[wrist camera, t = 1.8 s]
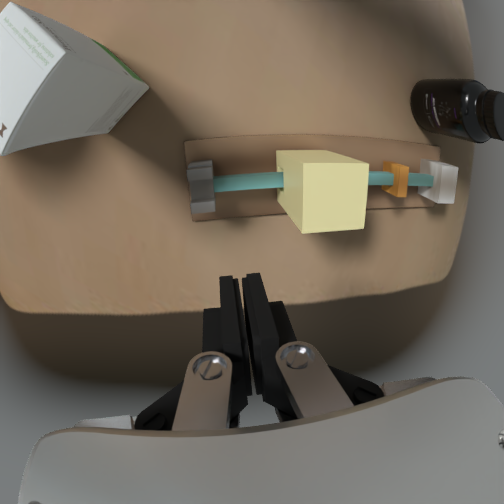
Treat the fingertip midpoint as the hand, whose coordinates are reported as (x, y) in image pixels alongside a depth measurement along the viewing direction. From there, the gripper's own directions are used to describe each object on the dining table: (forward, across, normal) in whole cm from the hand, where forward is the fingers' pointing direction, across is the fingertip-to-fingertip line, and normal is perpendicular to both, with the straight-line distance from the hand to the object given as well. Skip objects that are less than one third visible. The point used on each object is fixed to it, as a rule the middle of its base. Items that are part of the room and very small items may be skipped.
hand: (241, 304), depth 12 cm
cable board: (+17, -11, -2) cm, 21 cm away
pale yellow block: (+17, -7, -2) cm, 19 cm away
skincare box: (+17, +12, -13) cm, 25 cm away
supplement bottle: (+17, -24, -11) cm, 32 cm away
